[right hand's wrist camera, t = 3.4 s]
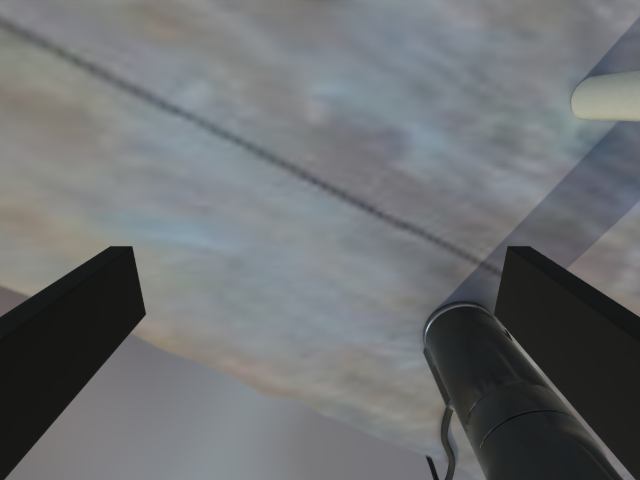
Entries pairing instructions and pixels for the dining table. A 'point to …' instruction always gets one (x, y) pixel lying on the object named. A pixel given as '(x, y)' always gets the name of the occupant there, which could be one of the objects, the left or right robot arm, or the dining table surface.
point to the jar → (608, 97)
